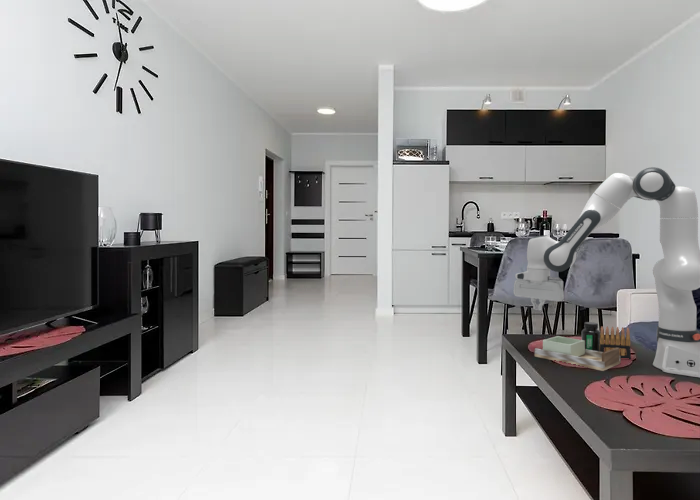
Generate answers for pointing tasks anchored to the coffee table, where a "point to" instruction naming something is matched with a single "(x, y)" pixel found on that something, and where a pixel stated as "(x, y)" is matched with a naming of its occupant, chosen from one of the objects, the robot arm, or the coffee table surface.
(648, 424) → the coffee table surface
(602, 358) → the striped flat box
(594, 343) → the supplement bottle
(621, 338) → the ammunition clip
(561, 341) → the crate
